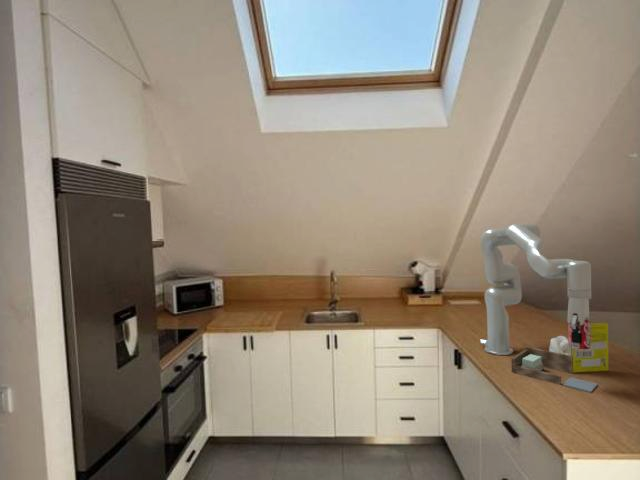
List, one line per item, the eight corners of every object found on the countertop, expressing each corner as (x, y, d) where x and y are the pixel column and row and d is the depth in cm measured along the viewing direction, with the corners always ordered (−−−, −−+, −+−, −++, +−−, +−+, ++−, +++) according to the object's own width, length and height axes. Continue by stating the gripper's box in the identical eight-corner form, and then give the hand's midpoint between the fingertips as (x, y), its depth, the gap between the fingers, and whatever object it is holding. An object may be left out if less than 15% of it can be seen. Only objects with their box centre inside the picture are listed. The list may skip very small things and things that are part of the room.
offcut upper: (522, 365, 160) (522, 358, 160) (530, 360, 165) (530, 354, 165) (533, 368, 157) (533, 361, 156) (541, 363, 161) (541, 356, 161)
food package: (607, 370, 159) (607, 322, 158) (609, 371, 158) (609, 323, 157) (571, 371, 158) (570, 324, 157) (573, 373, 157) (572, 325, 156)
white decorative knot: (575, 354, 178) (575, 335, 177) (581, 363, 167) (581, 343, 166) (547, 352, 182) (547, 333, 182) (552, 360, 171) (551, 341, 171)
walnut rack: (511, 372, 160) (511, 355, 160) (526, 361, 171) (526, 346, 171) (560, 384, 147) (560, 366, 146) (573, 372, 157) (572, 355, 157)
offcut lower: (521, 372, 160) (521, 365, 160) (530, 367, 166) (530, 360, 166) (534, 376, 156) (533, 369, 156) (542, 370, 162) (542, 363, 162)
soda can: (589, 347, 146) (589, 316, 145) (591, 352, 140) (591, 319, 139) (567, 344, 149) (567, 314, 149) (568, 349, 143) (568, 317, 143)
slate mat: (562, 385, 146) (562, 384, 146) (570, 378, 152) (570, 377, 152) (590, 392, 139) (590, 391, 139) (597, 385, 145) (597, 383, 145)
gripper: (574, 289, 152) (575, 333, 153) (560, 296, 141) (560, 343, 142) (597, 291, 147) (597, 337, 147) (584, 298, 135) (584, 348, 136)
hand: (579, 340), depth 145 cm, fingers closed on soda can, 6 cm apart
